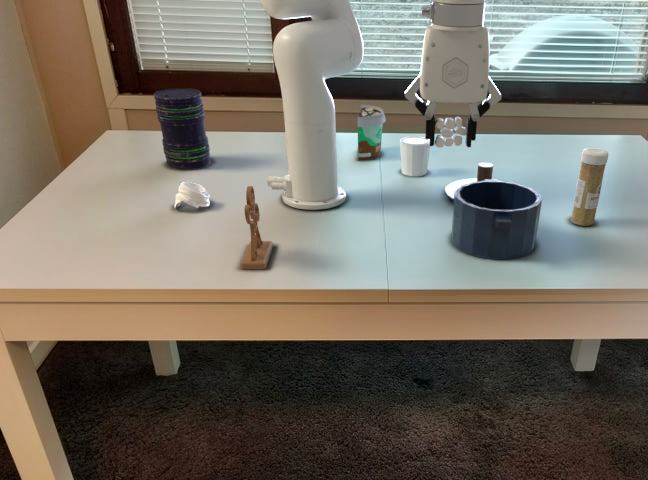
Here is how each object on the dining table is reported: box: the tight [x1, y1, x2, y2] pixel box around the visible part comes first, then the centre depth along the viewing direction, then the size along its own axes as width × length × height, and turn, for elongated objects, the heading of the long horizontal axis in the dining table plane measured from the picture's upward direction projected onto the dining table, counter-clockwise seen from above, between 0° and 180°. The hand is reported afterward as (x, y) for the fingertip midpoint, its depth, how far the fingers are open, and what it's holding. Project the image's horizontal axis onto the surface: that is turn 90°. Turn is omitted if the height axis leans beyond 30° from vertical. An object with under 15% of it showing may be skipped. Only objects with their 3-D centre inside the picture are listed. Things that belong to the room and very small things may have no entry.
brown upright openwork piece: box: [240, 185, 274, 270], centre depth 104 cm, size 9×4×12 cm, turn 1°
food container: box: [356, 104, 387, 161], centre depth 151 cm, size 12×6×10 cm, turn 179°
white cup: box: [399, 136, 431, 177], centre depth 142 cm, size 7×7×7 cm
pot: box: [451, 178, 543, 260], centre depth 112 cm, size 15×20×8 cm
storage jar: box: [153, 87, 212, 171], centre depth 142 cm, size 10×10×15 cm
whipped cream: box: [173, 181, 211, 210], centre depth 124 cm, size 8×7×5 cm
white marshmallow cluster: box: [434, 115, 467, 148], centre depth 102 cm, size 5×1×4 cm, turn 93°
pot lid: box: [444, 162, 494, 202], centre depth 131 cm, size 16×16×7 cm
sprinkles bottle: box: [570, 147, 609, 227], centre depth 119 cm, size 5×5×14 cm
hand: (450, 143), depth 103 cm, fingers closed on white marshmallow cluster, 5 cm apart
